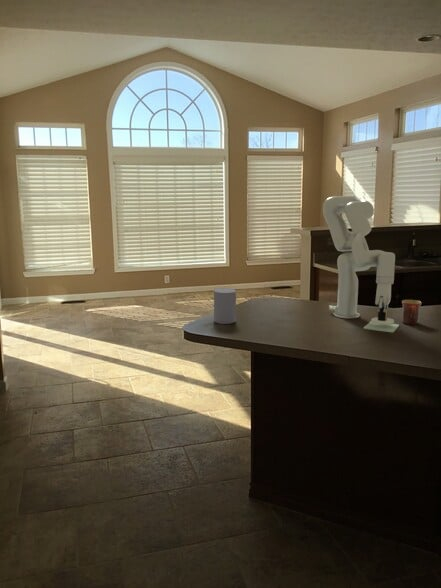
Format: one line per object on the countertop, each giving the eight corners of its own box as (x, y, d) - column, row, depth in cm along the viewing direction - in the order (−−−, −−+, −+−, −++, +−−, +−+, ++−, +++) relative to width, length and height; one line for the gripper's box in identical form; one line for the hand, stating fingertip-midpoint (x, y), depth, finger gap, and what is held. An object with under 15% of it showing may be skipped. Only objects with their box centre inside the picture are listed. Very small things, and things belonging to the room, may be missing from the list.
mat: (363, 328, 236) (363, 327, 236) (370, 322, 248) (370, 321, 247) (393, 332, 230) (393, 331, 230) (399, 325, 241) (399, 324, 241)
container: (216, 318, 254) (216, 288, 251) (237, 319, 252) (237, 289, 249) (211, 323, 244) (211, 292, 241) (233, 325, 242) (233, 293, 239)
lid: (368, 323, 236) (369, 310, 235) (374, 318, 245) (374, 305, 244) (391, 325, 231) (392, 312, 230) (396, 320, 240) (396, 308, 239)
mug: (399, 320, 252) (400, 299, 249) (418, 321, 250) (419, 300, 248) (402, 326, 240) (404, 304, 238) (422, 327, 238) (424, 305, 236)
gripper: (380, 276, 243) (378, 314, 247) (372, 281, 229) (369, 322, 233) (397, 277, 240) (394, 316, 243) (389, 283, 225) (387, 324, 229)
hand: (382, 319), depth 238 cm, fingers closed on lid, 3 cm apart
